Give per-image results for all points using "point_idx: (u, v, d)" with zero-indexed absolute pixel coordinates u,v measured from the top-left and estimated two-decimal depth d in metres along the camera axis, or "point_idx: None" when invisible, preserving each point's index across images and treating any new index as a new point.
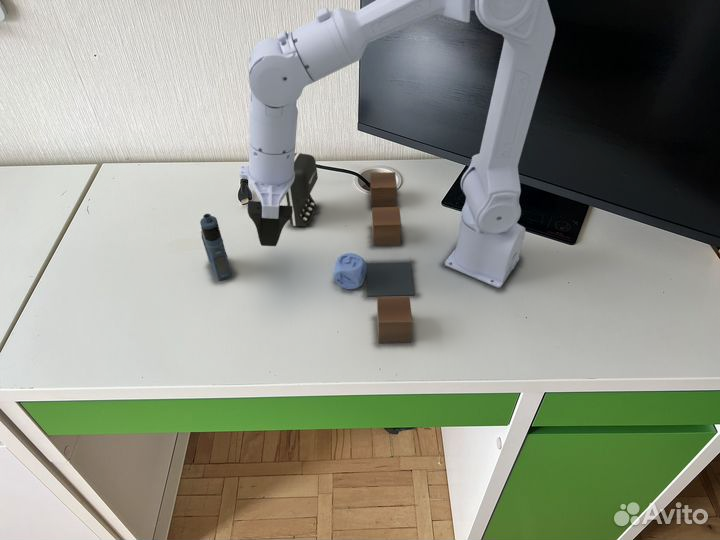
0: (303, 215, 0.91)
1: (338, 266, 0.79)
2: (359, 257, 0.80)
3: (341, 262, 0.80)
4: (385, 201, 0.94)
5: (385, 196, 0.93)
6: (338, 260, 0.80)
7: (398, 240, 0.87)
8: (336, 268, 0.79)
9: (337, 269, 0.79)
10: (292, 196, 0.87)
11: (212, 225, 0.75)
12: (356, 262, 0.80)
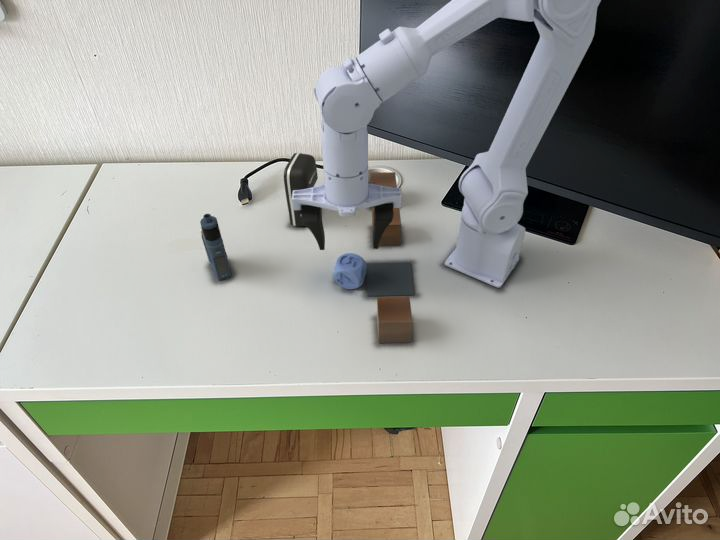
0: None
1: (338, 266, 0.79)
2: (359, 257, 0.80)
3: (341, 262, 0.80)
4: None
5: None
6: (338, 260, 0.80)
7: (398, 240, 0.87)
8: (336, 268, 0.79)
9: (337, 269, 0.79)
10: None
11: (212, 225, 0.75)
12: (356, 262, 0.80)
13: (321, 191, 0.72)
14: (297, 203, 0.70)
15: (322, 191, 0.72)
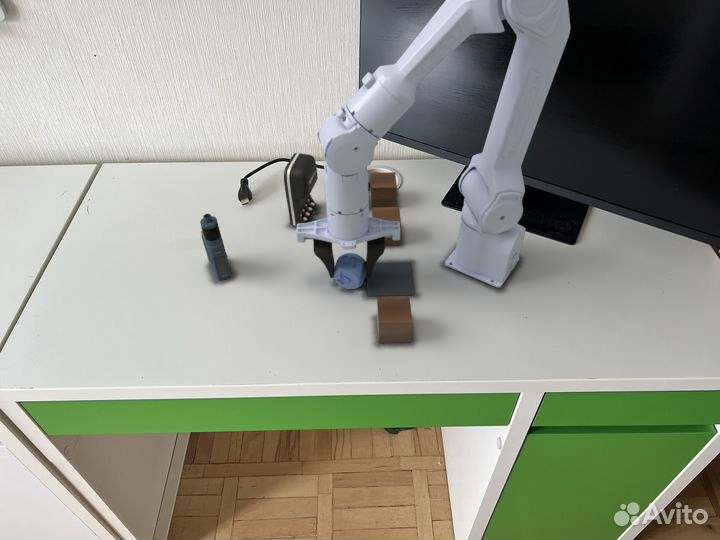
0: (303, 215, 0.91)
1: (338, 266, 0.79)
2: (359, 257, 0.80)
3: (341, 262, 0.80)
4: (385, 201, 0.94)
5: (385, 196, 0.93)
6: (338, 260, 0.80)
7: (398, 240, 0.87)
8: (336, 268, 0.79)
9: (337, 269, 0.79)
10: (292, 196, 0.87)
11: (212, 225, 0.75)
12: (356, 262, 0.80)
13: (324, 224, 0.76)
14: (301, 236, 0.74)
15: (325, 224, 0.76)
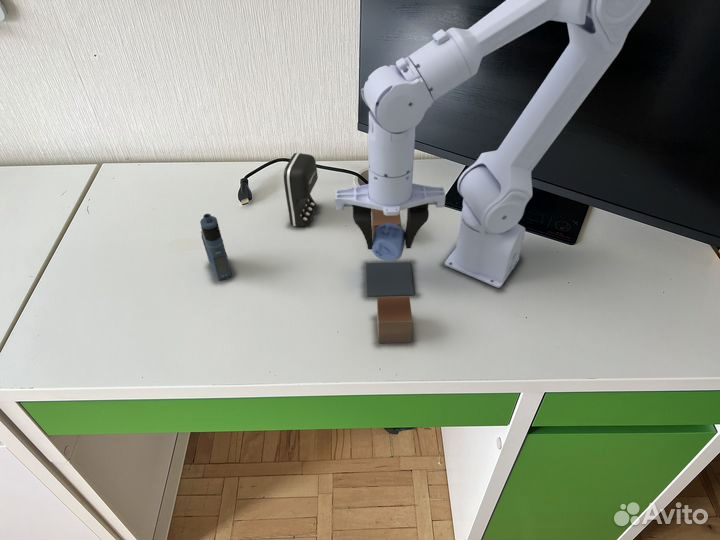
0: (303, 215, 0.91)
1: (377, 236, 0.75)
2: (399, 227, 0.76)
3: (380, 232, 0.76)
4: None
5: None
6: (377, 230, 0.76)
7: None
8: (375, 238, 0.75)
9: (376, 239, 0.75)
10: (292, 196, 0.87)
11: (212, 225, 0.75)
12: (396, 232, 0.76)
13: (364, 191, 0.72)
14: (341, 203, 0.70)
15: (365, 191, 0.72)
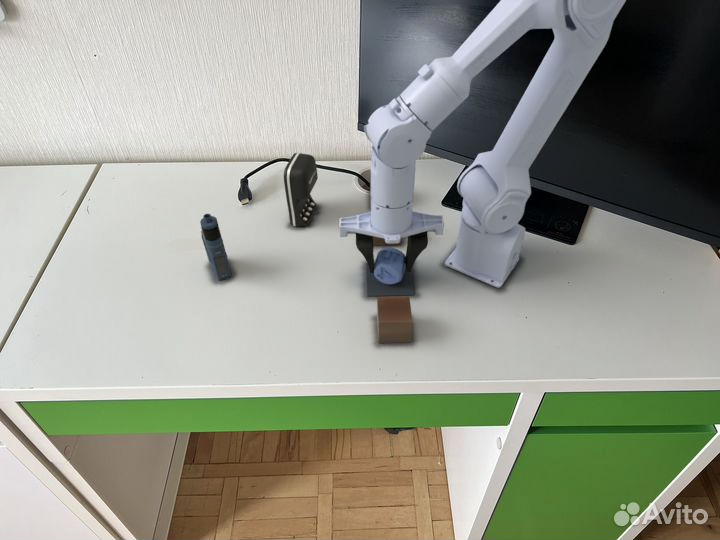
0: (303, 215, 0.91)
1: (379, 261, 0.78)
2: (399, 252, 0.79)
3: (381, 257, 0.79)
4: None
5: None
6: (378, 255, 0.79)
7: None
8: (377, 263, 0.78)
9: (378, 264, 0.78)
10: (292, 196, 0.87)
11: (212, 225, 0.75)
12: (396, 257, 0.79)
13: (366, 218, 0.75)
14: (344, 230, 0.74)
15: (367, 218, 0.75)
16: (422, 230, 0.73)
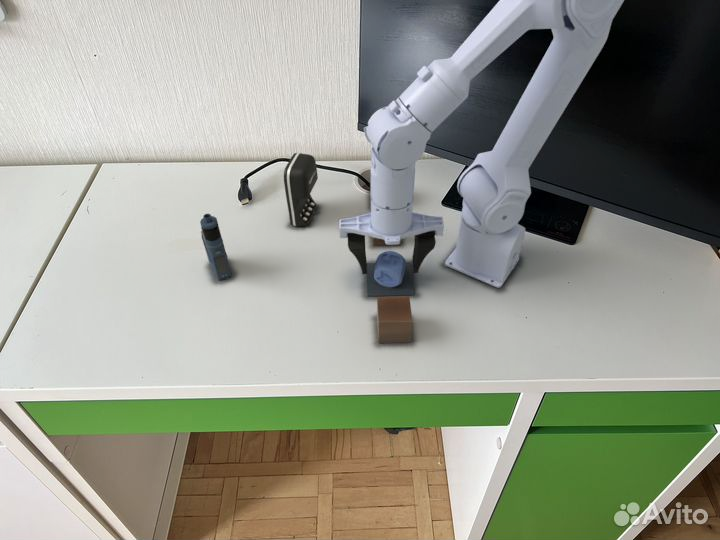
0: (303, 215, 0.91)
1: (379, 264, 0.78)
2: (399, 255, 0.80)
3: (381, 260, 0.79)
4: None
5: None
6: (378, 258, 0.79)
7: None
8: (377, 266, 0.79)
9: (378, 267, 0.79)
10: (292, 196, 0.87)
11: (212, 225, 0.75)
12: (396, 260, 0.79)
13: (366, 219, 0.75)
14: (344, 232, 0.74)
15: (367, 220, 0.75)
16: (422, 231, 0.73)
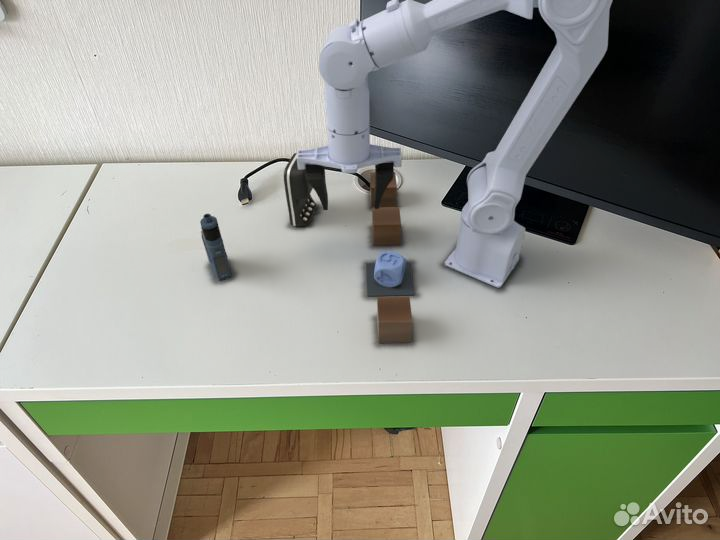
0: (303, 215, 0.91)
1: (379, 264, 0.78)
2: (399, 255, 0.80)
3: (381, 260, 0.79)
4: (385, 201, 0.94)
5: (385, 196, 0.93)
6: (378, 258, 0.79)
7: (398, 240, 0.87)
8: (377, 266, 0.79)
9: (378, 267, 0.79)
10: (292, 196, 0.87)
11: (212, 225, 0.75)
12: (396, 260, 0.79)
13: (325, 151, 0.75)
14: (302, 162, 0.73)
15: (325, 151, 0.75)
16: (379, 161, 0.73)
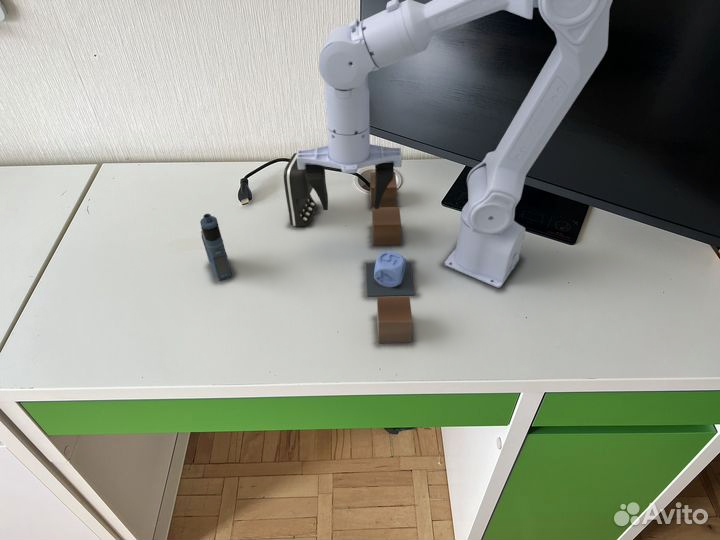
0: (303, 215, 0.91)
1: (379, 264, 0.78)
2: (399, 255, 0.80)
3: (381, 260, 0.79)
4: (385, 201, 0.94)
5: (385, 196, 0.93)
6: (378, 258, 0.79)
7: (398, 240, 0.87)
8: (377, 266, 0.79)
9: (378, 267, 0.79)
10: (292, 196, 0.87)
11: (212, 225, 0.75)
12: (396, 260, 0.79)
13: (325, 151, 0.75)
14: (302, 162, 0.73)
15: (325, 151, 0.75)
16: (379, 161, 0.73)
